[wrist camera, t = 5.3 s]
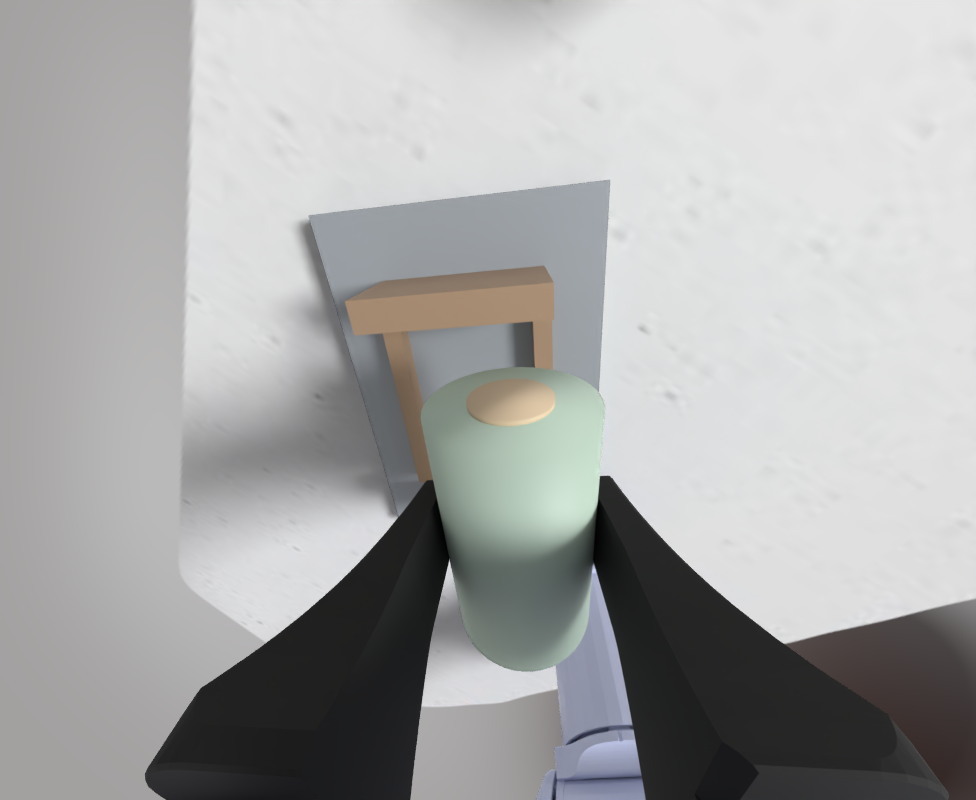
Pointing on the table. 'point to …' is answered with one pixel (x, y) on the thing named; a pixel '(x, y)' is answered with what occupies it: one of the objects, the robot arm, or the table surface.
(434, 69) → the table surface
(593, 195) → the holder
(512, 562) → the roll
